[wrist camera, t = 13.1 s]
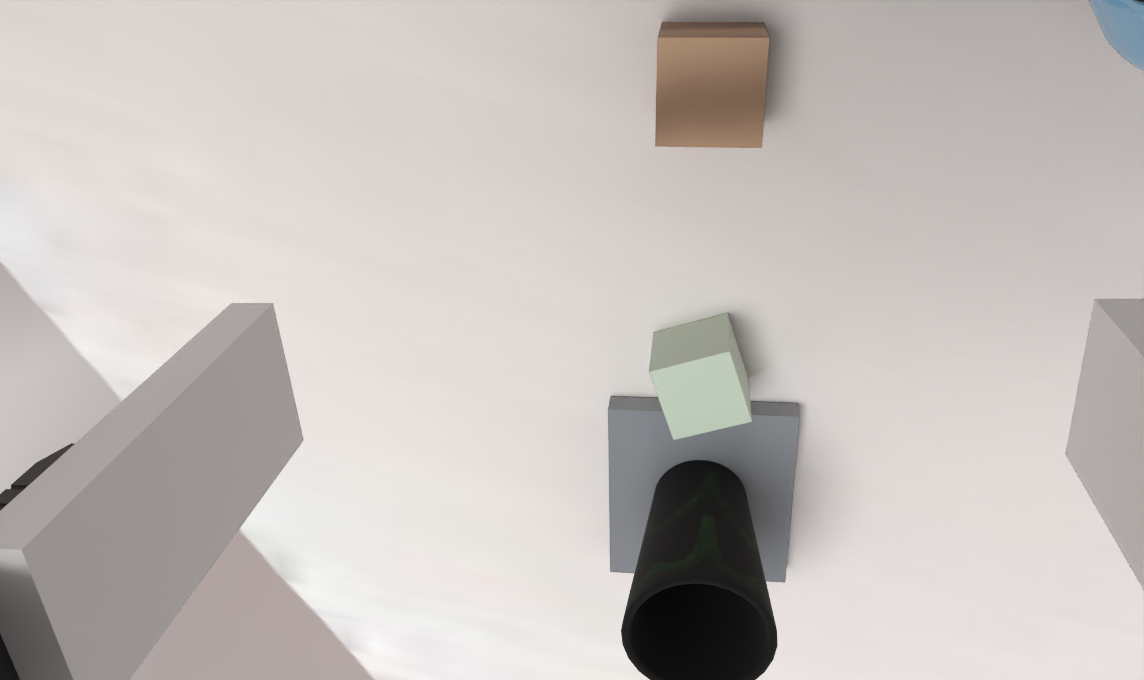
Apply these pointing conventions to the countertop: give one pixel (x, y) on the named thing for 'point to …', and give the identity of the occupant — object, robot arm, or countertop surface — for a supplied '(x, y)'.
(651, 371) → the sage block
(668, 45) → the walnut block
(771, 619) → the cup
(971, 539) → the countertop surface
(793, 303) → the countertop surface
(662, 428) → the plate
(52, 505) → the robot arm
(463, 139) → the countertop surface
